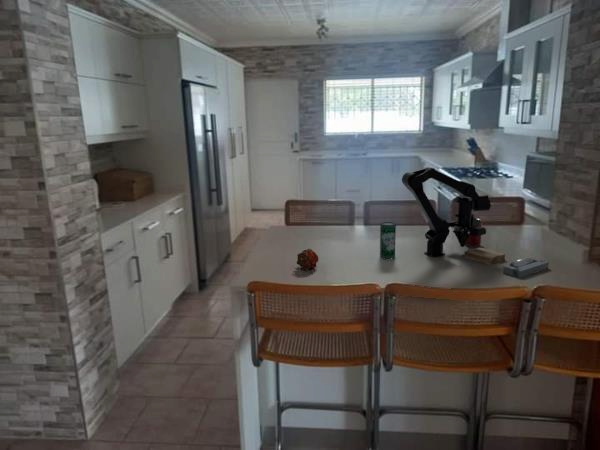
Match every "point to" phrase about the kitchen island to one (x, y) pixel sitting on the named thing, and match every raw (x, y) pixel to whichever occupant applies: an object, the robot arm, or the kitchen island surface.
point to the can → (387, 239)
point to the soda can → (474, 238)
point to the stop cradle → (526, 268)
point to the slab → (484, 255)
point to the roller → (521, 262)
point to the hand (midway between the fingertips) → (462, 246)
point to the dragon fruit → (307, 259)
